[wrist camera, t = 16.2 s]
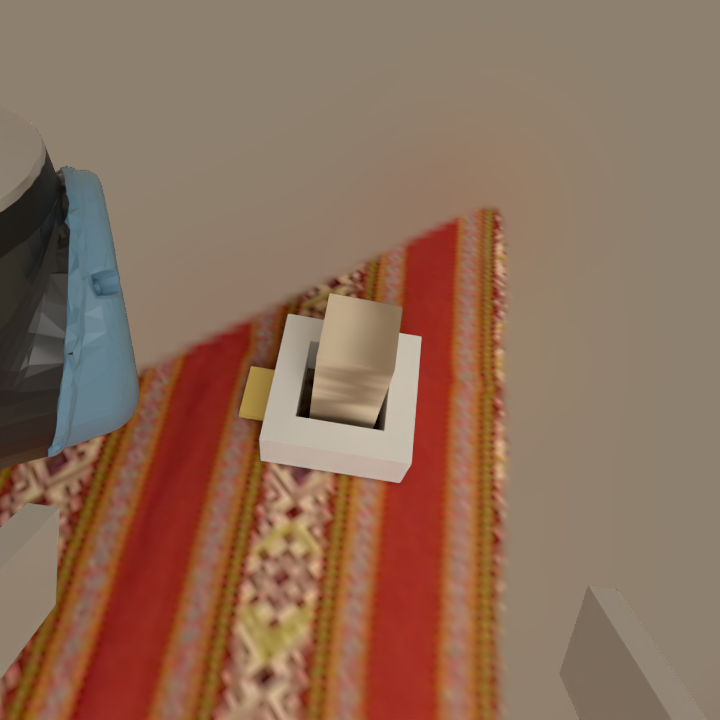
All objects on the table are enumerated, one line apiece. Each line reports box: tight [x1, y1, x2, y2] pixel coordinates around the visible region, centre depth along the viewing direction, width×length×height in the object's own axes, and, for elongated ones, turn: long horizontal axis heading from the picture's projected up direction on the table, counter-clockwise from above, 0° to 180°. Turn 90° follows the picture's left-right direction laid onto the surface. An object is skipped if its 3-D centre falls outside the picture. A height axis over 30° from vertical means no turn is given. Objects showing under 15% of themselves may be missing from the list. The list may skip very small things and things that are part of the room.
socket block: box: [239, 314, 421, 483], centre depth 41 cm, size 12×10×4 cm
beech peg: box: [309, 293, 402, 429], centre depth 38 cm, size 4×4×11 cm
